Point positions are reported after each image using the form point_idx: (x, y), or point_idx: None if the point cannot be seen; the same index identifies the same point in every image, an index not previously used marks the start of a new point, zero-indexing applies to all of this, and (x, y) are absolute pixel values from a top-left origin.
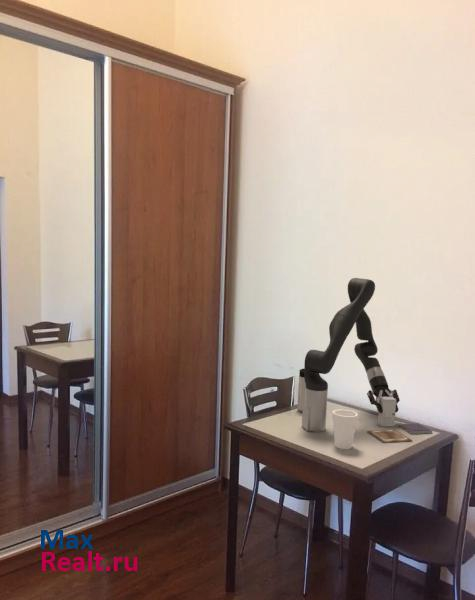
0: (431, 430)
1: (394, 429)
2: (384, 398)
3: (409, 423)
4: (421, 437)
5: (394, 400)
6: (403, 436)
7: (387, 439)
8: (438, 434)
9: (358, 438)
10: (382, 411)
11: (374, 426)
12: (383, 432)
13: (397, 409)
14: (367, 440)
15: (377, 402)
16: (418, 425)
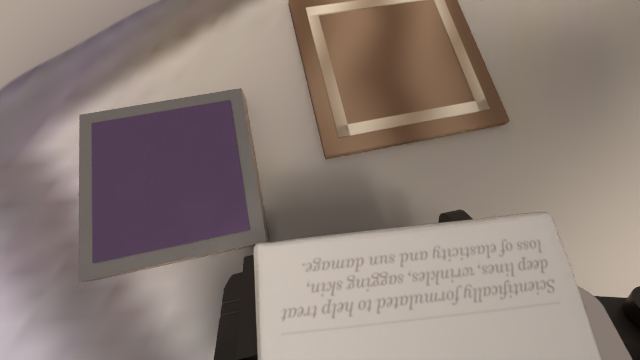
0: (85, 115)
1: (327, 155)
2: (533, 273)
3: (166, 259)
4: (206, 58)
5: (298, 239)
6: (317, 41)
7: (418, 4)
8: (64, 108)
9: (557, 34)
10: (443, 215)
11: None
12: (414, 98)
13: (250, 260)
14: (514, 12)
15: (582, 291)
16: (121, 206)
